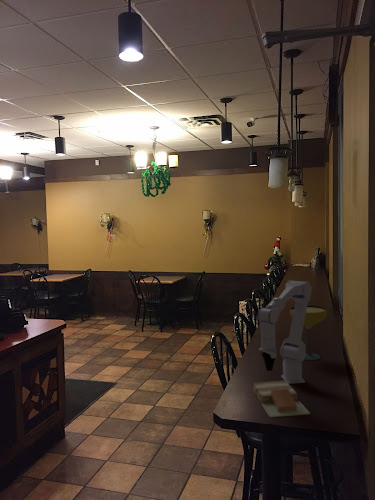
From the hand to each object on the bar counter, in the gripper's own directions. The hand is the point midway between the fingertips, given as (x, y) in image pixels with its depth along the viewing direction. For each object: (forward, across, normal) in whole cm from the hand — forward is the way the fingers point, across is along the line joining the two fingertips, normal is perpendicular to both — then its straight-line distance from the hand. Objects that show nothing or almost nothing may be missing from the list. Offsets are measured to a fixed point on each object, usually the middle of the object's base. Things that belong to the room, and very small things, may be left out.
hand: (269, 370), depth 170 cm
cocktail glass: (+10, -40, +33) cm, 53 cm away
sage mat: (+9, +16, +1) cm, 19 cm away
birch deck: (+9, +3, +1) cm, 10 cm away
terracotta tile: (+8, +14, +1) cm, 16 cm away
